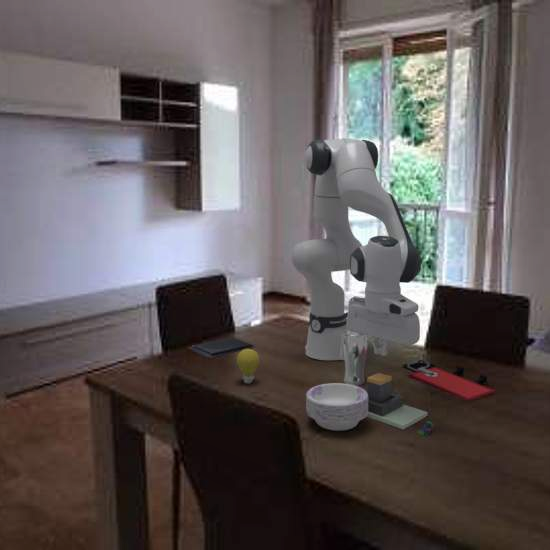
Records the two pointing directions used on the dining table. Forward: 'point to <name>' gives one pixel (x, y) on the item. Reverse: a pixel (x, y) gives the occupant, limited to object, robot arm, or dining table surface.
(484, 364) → the dining table surface
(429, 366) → the red board with handle
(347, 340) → the beer glass
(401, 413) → the board
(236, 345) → the wallet
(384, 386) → the plug
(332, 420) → the paper bowls
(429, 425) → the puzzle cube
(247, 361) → the light bulb
